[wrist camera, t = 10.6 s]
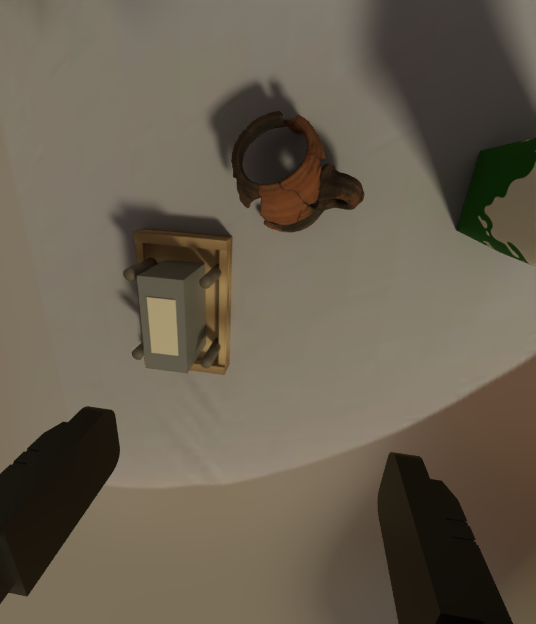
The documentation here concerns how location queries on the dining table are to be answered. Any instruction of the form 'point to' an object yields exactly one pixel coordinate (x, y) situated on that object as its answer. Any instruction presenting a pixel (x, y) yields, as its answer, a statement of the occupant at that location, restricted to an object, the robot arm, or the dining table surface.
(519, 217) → the milk carton
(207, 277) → the pin tray
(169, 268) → the block
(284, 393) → the dining table surface
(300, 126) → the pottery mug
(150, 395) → the dining table surface
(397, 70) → the dining table surface
